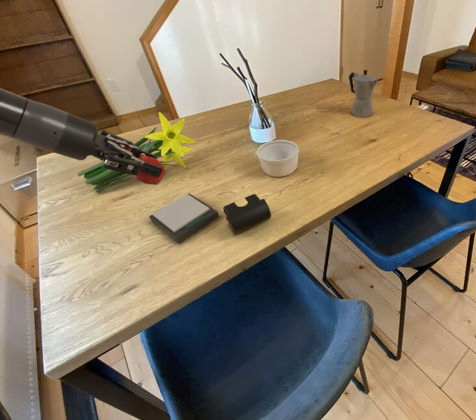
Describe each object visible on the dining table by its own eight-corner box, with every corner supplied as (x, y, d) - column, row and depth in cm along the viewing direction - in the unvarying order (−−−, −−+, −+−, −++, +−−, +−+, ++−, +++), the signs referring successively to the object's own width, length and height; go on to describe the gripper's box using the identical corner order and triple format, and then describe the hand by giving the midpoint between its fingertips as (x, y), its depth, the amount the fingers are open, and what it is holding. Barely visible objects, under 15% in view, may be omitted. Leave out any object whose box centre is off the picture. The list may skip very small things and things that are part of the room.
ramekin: (270, 155, 98) (267, 137, 93) (305, 160, 95) (304, 142, 91) (253, 176, 88) (249, 157, 84) (292, 182, 86) (290, 163, 81)
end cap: (237, 241, 68) (231, 221, 64) (226, 224, 72) (220, 205, 68) (273, 223, 73) (269, 204, 68) (261, 209, 77) (256, 190, 72)
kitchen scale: (179, 243, 68) (175, 236, 66) (152, 221, 74) (147, 214, 72) (219, 216, 75) (216, 209, 73) (191, 198, 81) (188, 191, 79)
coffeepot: (380, 114, 122) (385, 70, 110) (366, 120, 118) (370, 76, 106) (354, 104, 131) (357, 63, 119) (340, 110, 126) (342, 67, 114)
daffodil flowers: (101, 172, 93) (196, 125, 97) (117, 208, 90) (214, 159, 94) (54, 151, 76) (171, 96, 80) (72, 195, 74) (192, 136, 78)
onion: (146, 195, 61) (128, 164, 55) (139, 183, 64) (122, 153, 58) (173, 185, 63) (159, 154, 58) (165, 174, 67) (151, 144, 61)
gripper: (66, 128, 43) (173, 166, 57) (64, 100, 52) (158, 139, 65) (47, 167, 45) (156, 196, 58) (49, 134, 53) (143, 165, 67)
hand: (157, 166), depth 62 cm, fingers closed on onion, 5 cm apart
